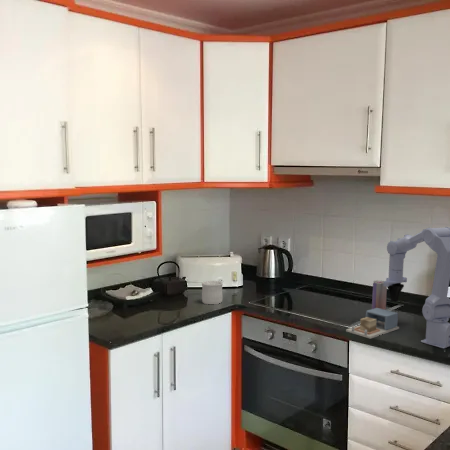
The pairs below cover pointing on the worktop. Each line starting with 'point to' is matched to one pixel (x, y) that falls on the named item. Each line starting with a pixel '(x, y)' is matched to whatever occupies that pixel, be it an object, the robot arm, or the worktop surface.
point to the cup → (212, 292)
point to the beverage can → (379, 295)
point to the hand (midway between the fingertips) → (394, 300)
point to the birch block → (368, 324)
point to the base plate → (377, 332)
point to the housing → (383, 317)
